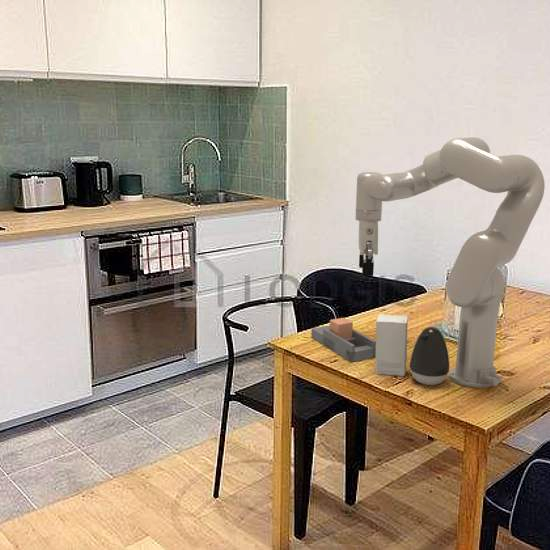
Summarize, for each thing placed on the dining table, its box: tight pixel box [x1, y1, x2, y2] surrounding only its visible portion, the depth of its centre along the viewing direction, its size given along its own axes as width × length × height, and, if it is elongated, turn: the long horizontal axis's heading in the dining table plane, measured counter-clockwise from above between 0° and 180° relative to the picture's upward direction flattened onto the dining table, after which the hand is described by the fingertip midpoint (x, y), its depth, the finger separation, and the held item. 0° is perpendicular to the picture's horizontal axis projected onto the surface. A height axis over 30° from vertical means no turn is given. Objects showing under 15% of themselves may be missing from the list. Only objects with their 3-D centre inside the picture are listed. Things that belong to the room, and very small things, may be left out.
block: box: [329, 317, 354, 339], centre depth 195 cm, size 5×5×5 cm
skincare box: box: [374, 313, 409, 377], centre depth 176 cm, size 8×7×16 cm
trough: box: [310, 324, 376, 363], centre depth 195 cm, size 23×8×5 cm, turn 27°
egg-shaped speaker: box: [409, 326, 450, 386], centre depth 170 cm, size 10×10×15 cm
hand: (365, 271), depth 193 cm, fingers open, 9 cm apart
